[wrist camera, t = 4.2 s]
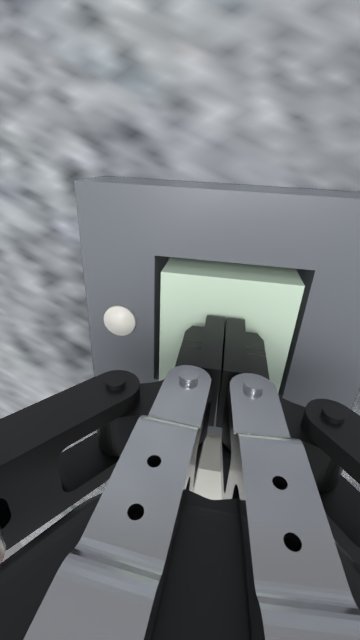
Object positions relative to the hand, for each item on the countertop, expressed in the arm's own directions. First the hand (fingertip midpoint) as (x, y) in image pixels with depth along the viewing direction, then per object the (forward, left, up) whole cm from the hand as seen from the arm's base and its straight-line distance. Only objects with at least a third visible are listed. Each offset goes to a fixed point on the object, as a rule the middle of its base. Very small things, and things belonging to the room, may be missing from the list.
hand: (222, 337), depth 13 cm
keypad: (0, +9, -4) cm, 10 cm away
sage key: (0, 0, -3) cm, 3 cm away
